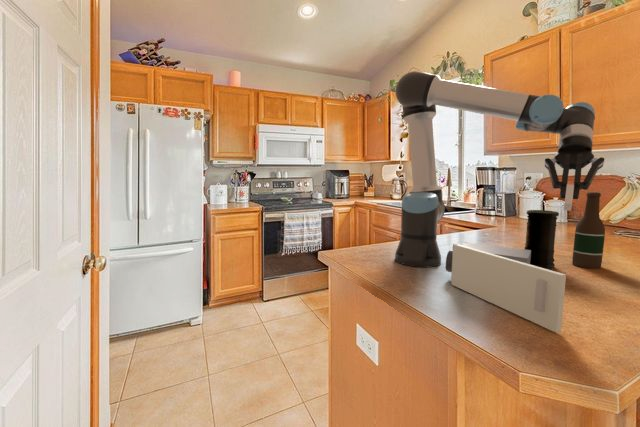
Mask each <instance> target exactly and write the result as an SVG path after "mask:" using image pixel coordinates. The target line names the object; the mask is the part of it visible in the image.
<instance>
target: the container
mask: <svg viewBox="0 0 640 427" xmlns="http://www.w3.org/2000/svg"><path fill="white" fill-rule="evenodd" d="M559 214H560V213H559V211H554V210H553V211H552V210H544V209H542V210H541V209H529V210H526V215H527V217H526V218H527V222H526V232H525V243H524V248H523V249H524V250H531V259H530V265H534V266H537V267H541V268H544V269H548V270H551V269H552V270H553V269H554V268H555V266H556V265H555V263H554V262H555V258H554V257H555V255H554V254H555V239H556V231H557V230H556V228H557V219H558V217H559Z"/></svg>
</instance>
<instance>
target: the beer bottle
mask: <svg viewBox="0 0 640 427" xmlns="http://www.w3.org/2000/svg"><path fill="white" fill-rule="evenodd" d="M586 197H587V198H586V202H585V207H584V213H583V216H582V217H581V219H579V220H578V222H577V223H576V226H575V230H574V239H573V240H574V241H573V250H572V260H571V261H572V265H573V266H576V267H580V268H585V269H590V270H591V269H592V270H593V269H598V270H599V269H601V268H602V263H603V253H604V244H605V238H606V237H605V235H606V228H605V225H604V222H603V221H602V219H601V218H600V200H601V199H600V197H602V194H601V193H600V192H599V191H597V192H596V191H595V192H591V191H588V192H587V193H586Z"/></svg>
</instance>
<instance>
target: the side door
mask: <svg viewBox="0 0 640 427" xmlns="http://www.w3.org/2000/svg"><path fill="white" fill-rule="evenodd" d="M452 251H453V254H452V272H450V273H451V276H450V285H452V286H454V287H456V288H458V289H461V290H463V291H465V292H467V293H469V294H472V295H474V296H475V297H478V298H480V299H482V300H485V301H487V302H489V303H491V304H493V305H495V306H497V307H500V308H502V309H503V310H506V311H508V312H510V313H512V314H514V315H516V316H519V317H521V318H523V319H526V320H528V321H531V322H532V323H535V324H537V325H539V326H541V327H543V328H546V329H547V330H549V331H552V332H554V333H560V332H561V331H562V323H563V322H562V321H563V310H564V302H565V300H564V299H565V291H566V281H567V274H565V273H562V272H559V271H554V270H553V269H552V270H551V269H544V268H541V267H537V266H534V265H530V264H527V263H523V262H520V261H516V260H512V259H509V258H505V257H502V256H498V255H495V254H491V253H488V252H484V251H480V250H477V249H473V248H470V247H466V246H463V245H462V244H458V243H452Z"/></svg>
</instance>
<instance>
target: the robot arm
mask: <svg viewBox="0 0 640 427" xmlns="http://www.w3.org/2000/svg"><path fill="white" fill-rule="evenodd" d="M396 83H397V84H396V85H395V97H396V98H395V99H397V101H398V103H399V104H400V105H401V106H402V117H403V119H402V120H403V121H404V122H406V123H407V127H408V138H409V139H408V140H409V151H410V152H409V153H410V164H411V165H410V166H411V177H412V179H411V180H412V187H411V189H410V190H408V191H409V192H408V193H406V194H404V195H403V196H402V199H401V200H402V201H401V203H400V204H401V205H400V206H401V222H400V224H401V225H400V226H401V227H400V239H399V242H398V246H397V248H396V250H395V255H394V259H395V260H394V261H396V262H397V263H399V264H401V265H404V266H405V265H406V266H411V267H419V268H432V267H438V266H439V265H441V264H442V255H441V251H440V248H439V245H438V241H437V234H438V233H437V232H438V231H437V230H438V223H439V222H440V221H441V220H442V218H443V217H444V215H445V212H446V206H445V203H444V201H443V189H442V187H441V186H439V185H438V184H437V183H438V181H437V166H436V154H435V139H434V127H433V125H434V124H433V119H434V118H435V117H436V115H437V107H436V106H441V107H445V108H449V109H455V110H459V111H460V110H461V111H465V112H469V113H470V112H471V113H475V114H479V115H486V116H491V117H495V118H500V119H505V120H509V121H516V122H515V129H516V130H519V131H520V130H521V131H525V132H535V133H536V132H537V133H538V132H539V133H548V134H556V135H557V134H558V135H559V141H558V147H557V153H556V154H555V155H554V157H553V158H549V157H548V158H545V159H544V167H545V168H546V169H547V171H548V173H549V177H550V178H549V179H550V181H551V186H552V188H553V189H554V190H555V189H559V191H560V193H559V198H560V199H564V206H563V211H569V212H571V211H572V207H573V200H578V199H579V197H580V196H579V195H580V191H581V190H585V191H587V190H589V189H590V188H589V187H590V186H591V184H592V183H593V181H594V178H595V177H596V174H597V173H598V171H599V170H600V169H601V168H603V166H604V164H605V158H604V157H599V158H597V157H595V156H594V154H593V142H594V140H593V139H594V125H595V121H596V115H595V114H596V112H595V109H594V107H593V105H592V104H590V103H589V102H586V101H585V102H584V101H580V102H575V103H572V104H570V105H568V106H567V107H564V102H563V100H562V99H561V98H560V97H559V96H557V95H555V94H544V95H541V96H540V95H534V94H529V93H522V92H517V91H512V90H510V91H509V90H505V89H499V88H495V87H488V86H482V85H477V84H470V83H464V82H459V81H454V80H448V79H447V80H445V79H441V77H440V76H439V74H433V73H429V72H422V71H416V70H415V71H410V72H407V73H405V74H404V75H402V76H401V77H400V79H398V81H397V82H396ZM556 164H557V165H558V166H559V167H560V168H562V169H563V170H562V176H561V181H560V180H559V176H558V173H557V170H556ZM590 164H591V166H590V167H589V170H588V171H587V174H586V176H585V177H584V180H583V181H581V177H582V169H584V168H585V167H586V166H588V165H590ZM570 170H574V177H573V178H574V180H573V184H569V183H568V180H569V173H570V172H569V171H570Z"/></svg>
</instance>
